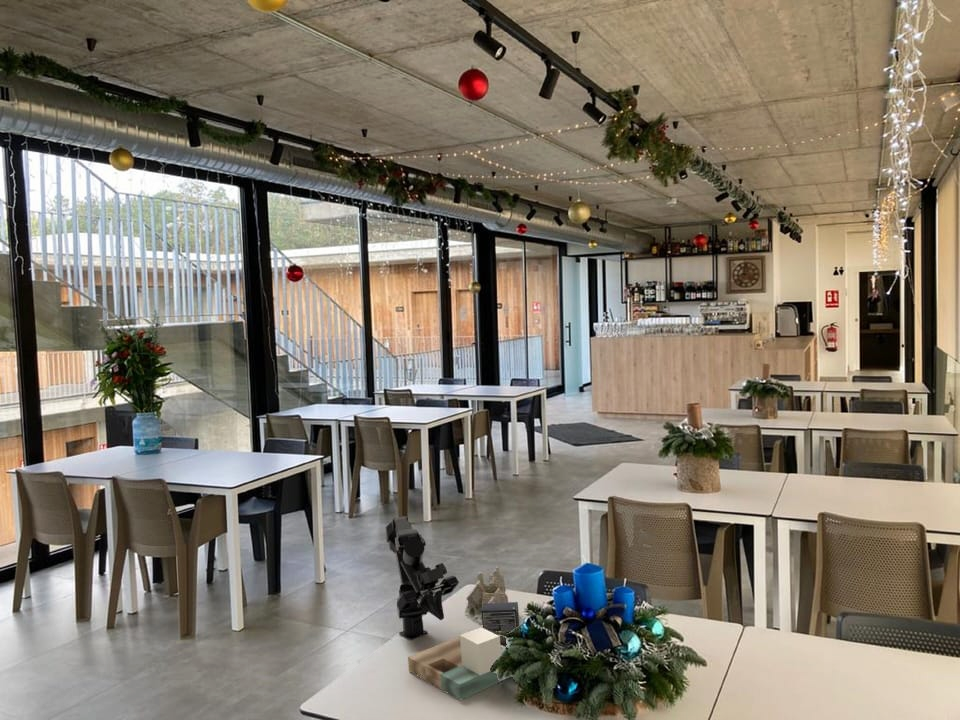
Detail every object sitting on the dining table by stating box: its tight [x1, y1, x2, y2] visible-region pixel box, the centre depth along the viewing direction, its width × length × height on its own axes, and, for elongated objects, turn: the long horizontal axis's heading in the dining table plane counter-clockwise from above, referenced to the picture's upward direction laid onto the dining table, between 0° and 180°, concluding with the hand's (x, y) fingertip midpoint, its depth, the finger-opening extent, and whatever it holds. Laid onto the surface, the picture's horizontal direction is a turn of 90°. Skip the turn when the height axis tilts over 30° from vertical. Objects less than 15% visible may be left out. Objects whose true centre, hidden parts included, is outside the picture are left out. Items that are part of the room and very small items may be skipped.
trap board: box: [407, 636, 507, 701], centre depth 203 cm, size 23×22×4 cm
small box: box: [481, 601, 520, 646], centre depth 221 cm, size 11×6×10 cm, turn 84°
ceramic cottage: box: [464, 566, 509, 626], centre depth 240 cm, size 16×16×15 cm
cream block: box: [459, 626, 501, 675], centre depth 197 cm, size 8×7×8 cm
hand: (442, 619), depth 211 cm, fingers closed
